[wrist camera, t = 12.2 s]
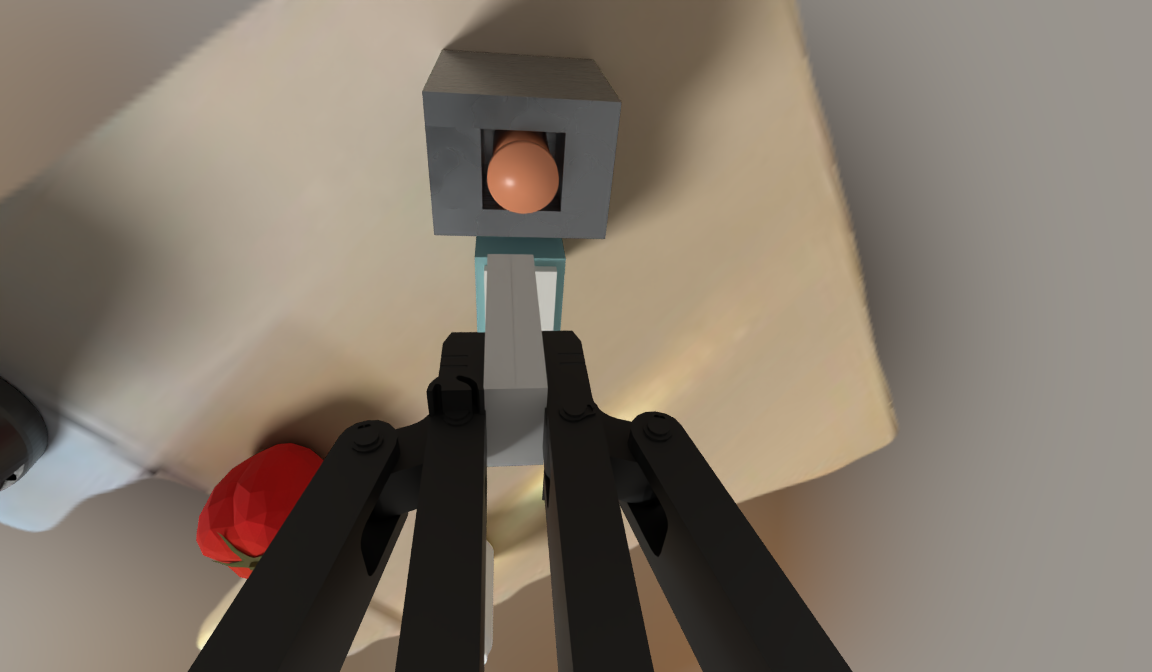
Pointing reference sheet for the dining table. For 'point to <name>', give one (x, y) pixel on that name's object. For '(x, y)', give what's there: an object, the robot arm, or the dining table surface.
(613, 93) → the grey box
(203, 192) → the dining table surface
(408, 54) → the dining table surface
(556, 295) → the block
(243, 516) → the tomato
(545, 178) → the plunger
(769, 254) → the dining table surface
